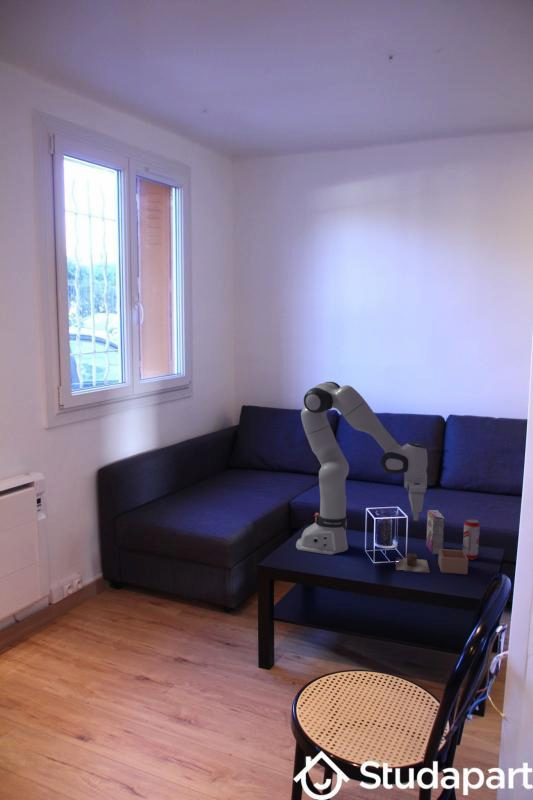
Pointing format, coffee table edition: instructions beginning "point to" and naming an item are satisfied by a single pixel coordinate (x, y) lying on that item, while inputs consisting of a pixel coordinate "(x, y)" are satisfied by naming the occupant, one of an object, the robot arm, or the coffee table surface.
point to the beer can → (471, 538)
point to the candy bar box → (435, 531)
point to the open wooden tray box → (453, 561)
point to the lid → (412, 564)
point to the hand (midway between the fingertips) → (414, 516)
